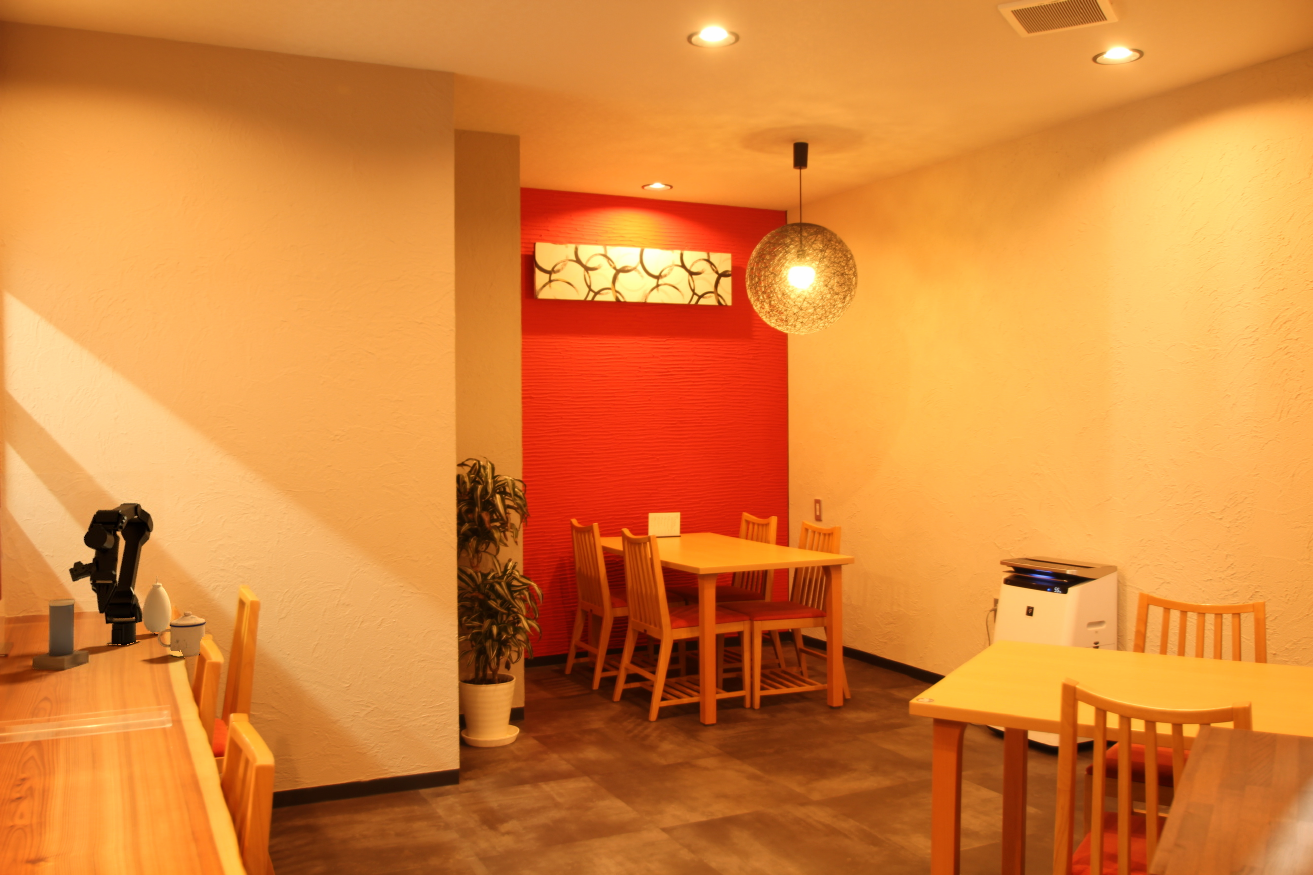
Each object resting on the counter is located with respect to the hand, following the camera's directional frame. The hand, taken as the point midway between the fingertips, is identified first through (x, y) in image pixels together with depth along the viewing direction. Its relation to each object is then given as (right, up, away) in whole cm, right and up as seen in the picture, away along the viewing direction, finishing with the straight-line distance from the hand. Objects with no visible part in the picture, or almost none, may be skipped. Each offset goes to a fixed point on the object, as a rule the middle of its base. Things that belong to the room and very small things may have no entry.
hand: (101, 611), depth 267 cm
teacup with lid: (+19, -13, +5) cm, 24 cm away
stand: (-6, -13, -9) cm, 16 cm away
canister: (-6, -9, -9) cm, 14 cm away
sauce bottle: (-2, -13, +34) cm, 36 cm away
